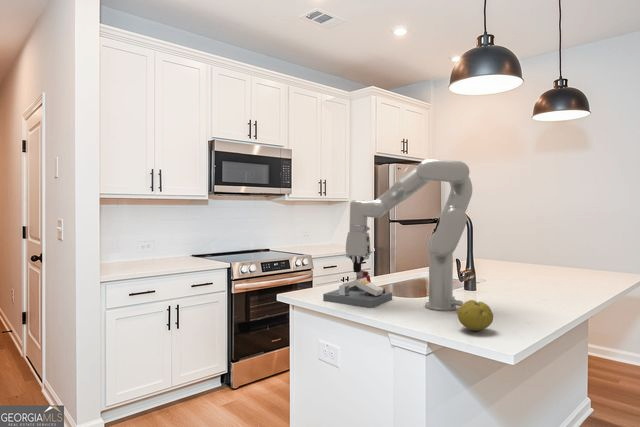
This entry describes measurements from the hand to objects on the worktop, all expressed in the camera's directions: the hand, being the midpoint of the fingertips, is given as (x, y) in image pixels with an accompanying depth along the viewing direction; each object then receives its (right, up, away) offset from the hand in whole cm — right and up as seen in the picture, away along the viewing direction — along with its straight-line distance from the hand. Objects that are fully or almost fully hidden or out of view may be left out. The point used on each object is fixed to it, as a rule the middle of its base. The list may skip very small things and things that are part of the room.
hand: (357, 272), depth 180 cm
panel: (+1, -14, +8) cm, 16 cm away
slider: (-5, -10, +4) cm, 12 cm away
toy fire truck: (+5, -14, +27) cm, 31 cm away
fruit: (+36, -15, -38) cm, 55 cm away
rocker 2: (+6, -9, +5) cm, 12 cm away
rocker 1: (+1, -8, +16) cm, 18 cm away
